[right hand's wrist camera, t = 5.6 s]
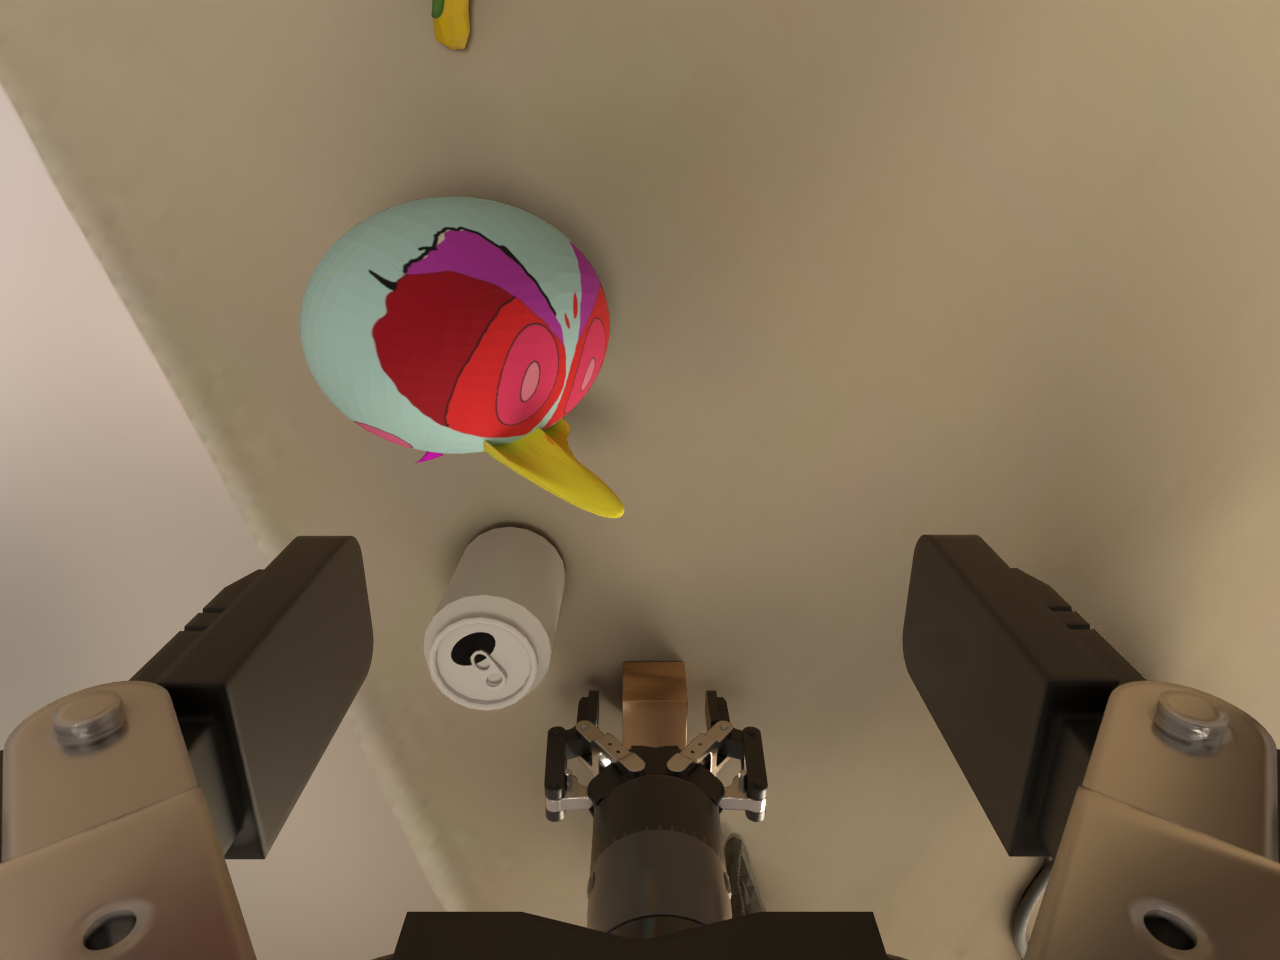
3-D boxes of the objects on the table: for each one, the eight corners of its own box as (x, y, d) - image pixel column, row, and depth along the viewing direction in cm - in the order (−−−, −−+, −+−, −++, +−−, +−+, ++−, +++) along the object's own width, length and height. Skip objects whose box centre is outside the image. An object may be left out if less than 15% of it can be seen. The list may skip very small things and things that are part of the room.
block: (624, 714, 60) (622, 757, 55) (623, 661, 58) (622, 700, 54) (682, 714, 60) (686, 757, 55) (683, 661, 58) (687, 700, 53)
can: (523, 501, 53) (492, 586, 42) (587, 581, 55) (574, 682, 44) (439, 557, 55) (387, 653, 43) (505, 632, 57) (471, 742, 46)
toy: (472, 641, 32) (566, 302, 26) (220, 441, 39) (246, 137, 33) (682, 528, 47) (776, 293, 40) (471, 396, 54) (522, 179, 48)
